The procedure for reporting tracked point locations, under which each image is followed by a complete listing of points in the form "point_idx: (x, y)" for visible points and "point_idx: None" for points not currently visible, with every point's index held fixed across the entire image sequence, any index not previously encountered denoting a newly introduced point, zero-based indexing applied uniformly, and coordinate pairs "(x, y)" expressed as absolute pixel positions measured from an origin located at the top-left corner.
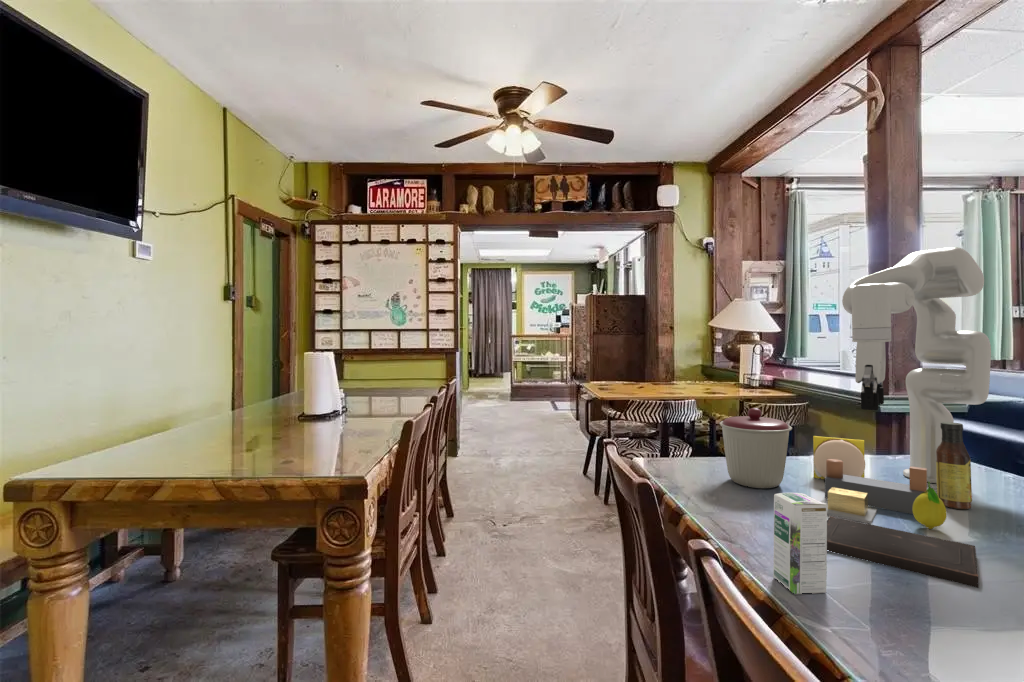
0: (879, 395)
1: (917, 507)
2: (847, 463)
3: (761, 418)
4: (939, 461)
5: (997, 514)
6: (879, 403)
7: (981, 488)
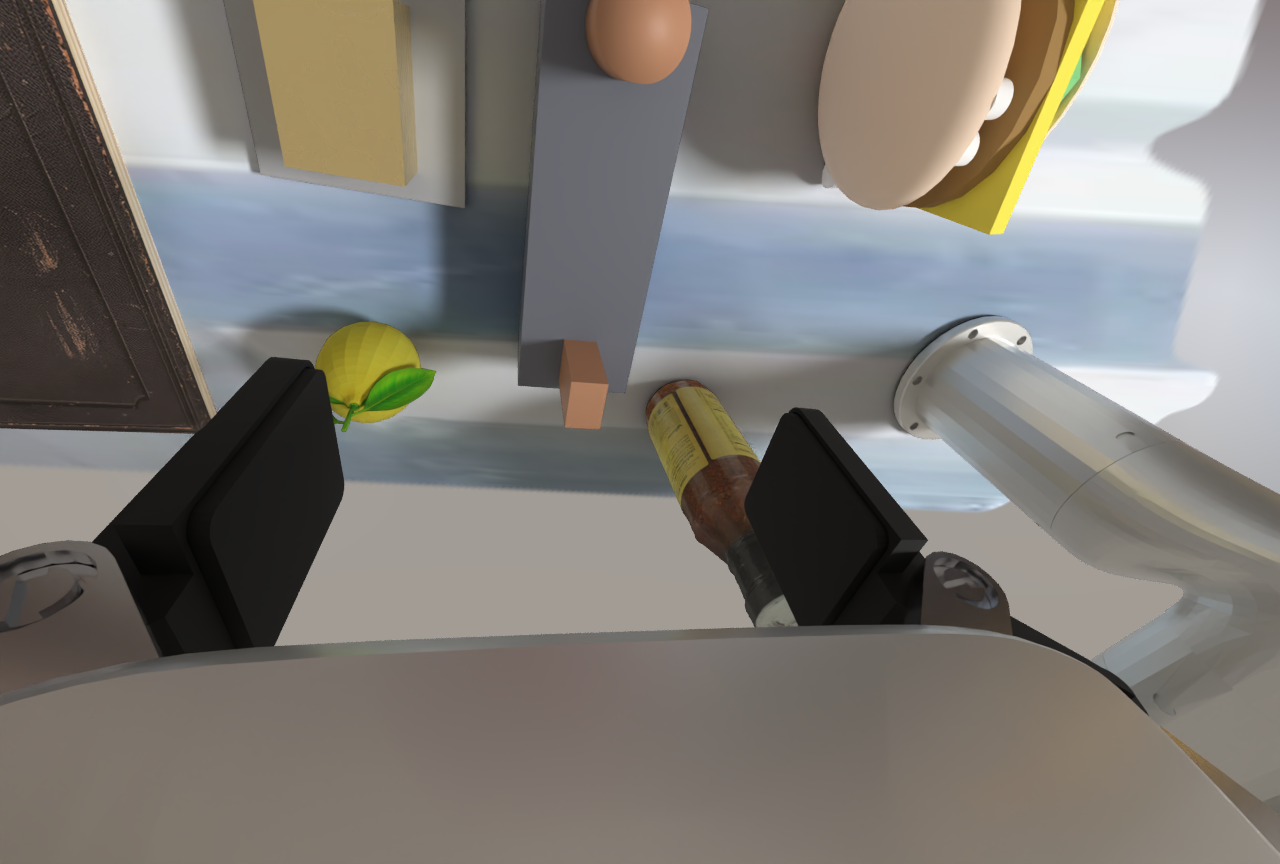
0: (783, 553)
1: (326, 348)
2: (849, 120)
3: None
4: (711, 466)
5: (651, 473)
6: (752, 488)
7: (876, 461)
